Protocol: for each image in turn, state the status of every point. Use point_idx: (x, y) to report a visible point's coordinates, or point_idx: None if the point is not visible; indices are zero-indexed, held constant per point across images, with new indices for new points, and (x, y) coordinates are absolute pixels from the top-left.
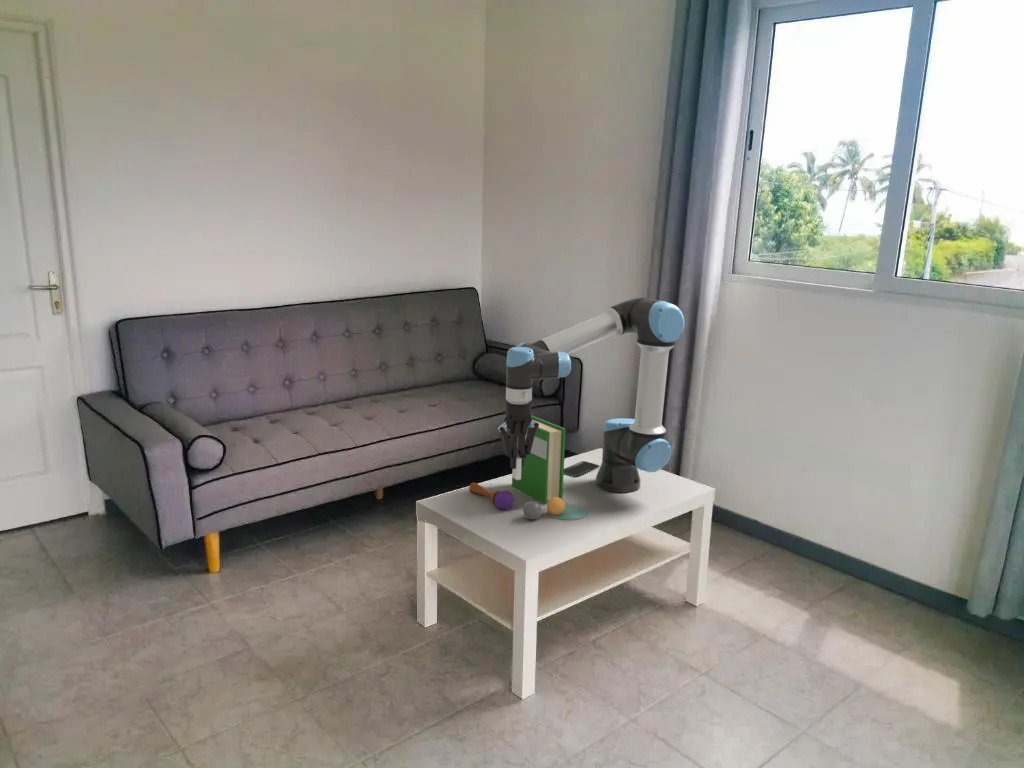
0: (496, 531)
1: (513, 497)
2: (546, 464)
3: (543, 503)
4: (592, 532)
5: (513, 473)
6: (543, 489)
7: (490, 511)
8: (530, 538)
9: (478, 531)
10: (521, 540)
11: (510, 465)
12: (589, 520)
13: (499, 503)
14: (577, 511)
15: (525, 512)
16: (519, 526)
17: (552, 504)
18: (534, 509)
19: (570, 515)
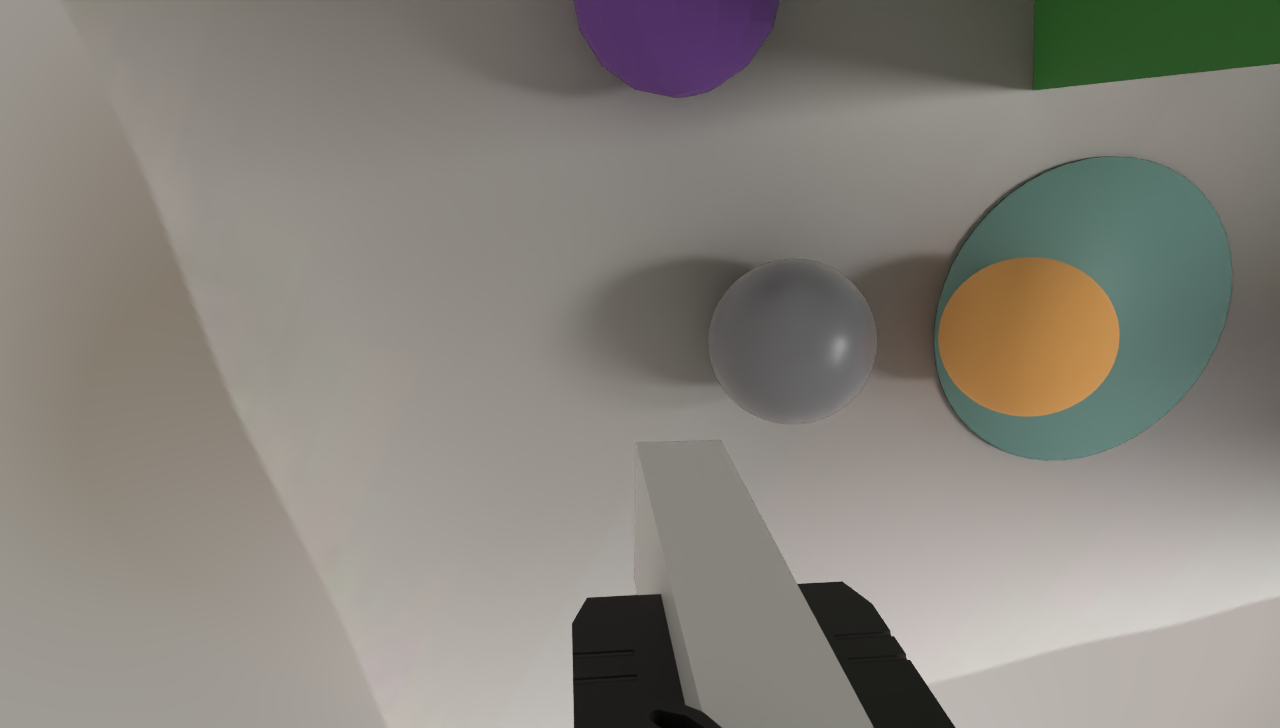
0: (397, 425)
1: (769, 28)
2: None
3: (1035, 73)
4: (997, 653)
5: (643, 516)
6: (1139, 48)
7: (506, 17)
8: None
9: (252, 373)
10: (514, 611)
11: (573, 646)
12: (1109, 500)
13: (590, 43)
14: (1147, 348)
15: (712, 362)
16: (607, 410)
17: (984, 386)
18: (782, 421)
19: None
